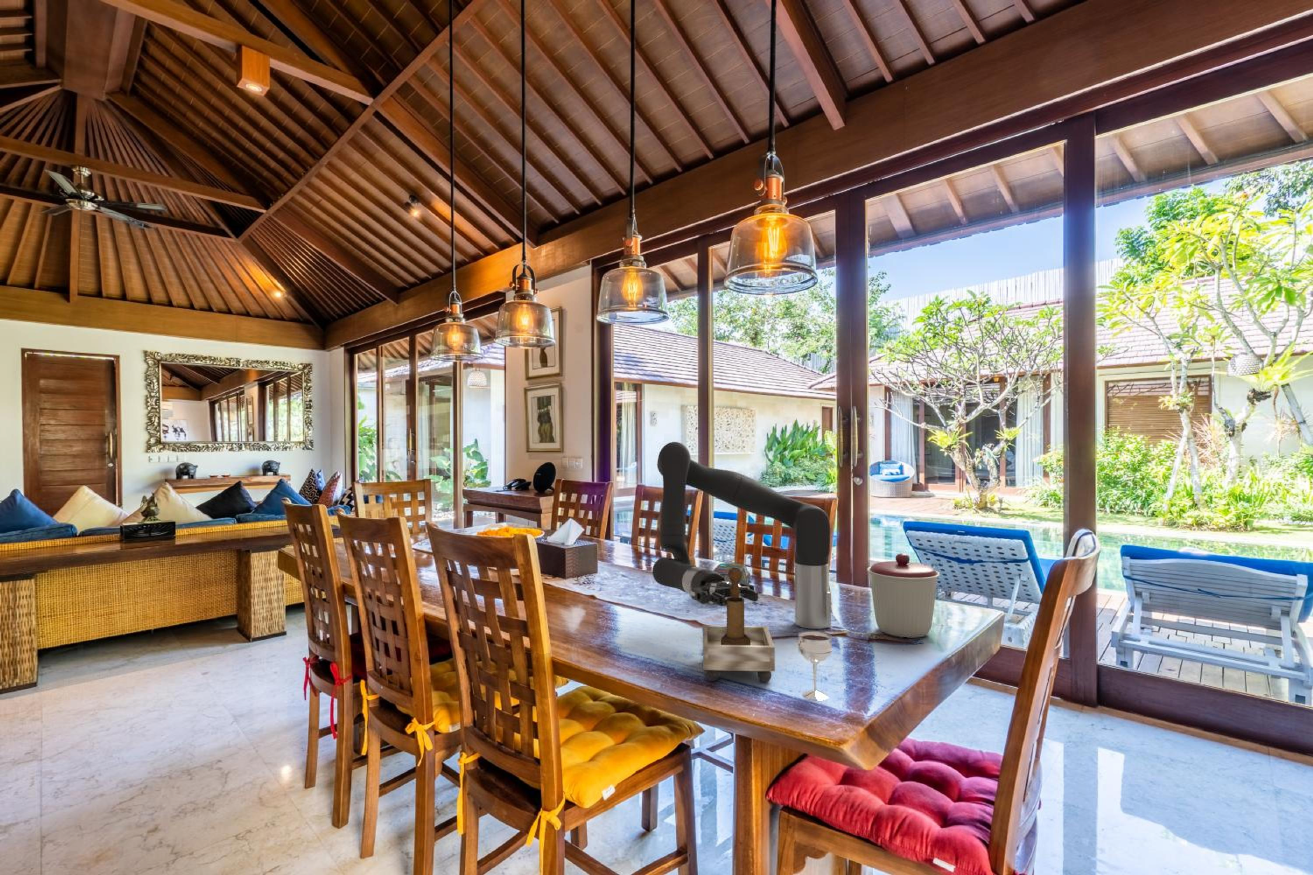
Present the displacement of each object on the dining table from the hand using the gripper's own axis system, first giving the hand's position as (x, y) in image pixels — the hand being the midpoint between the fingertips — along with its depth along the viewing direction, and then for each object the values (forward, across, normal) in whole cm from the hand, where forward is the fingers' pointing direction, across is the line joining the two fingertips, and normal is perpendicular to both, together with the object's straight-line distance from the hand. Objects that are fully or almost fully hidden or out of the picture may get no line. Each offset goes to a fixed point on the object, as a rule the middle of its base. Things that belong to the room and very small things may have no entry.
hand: (740, 599), depth 136 cm
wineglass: (+16, +7, +17) cm, 24 cm away
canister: (-5, +55, +17) cm, 58 cm away
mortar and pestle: (-2, 0, +12) cm, 12 cm away
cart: (-2, 0, +16) cm, 17 cm away
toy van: (-62, +37, +17) cm, 74 cm away
